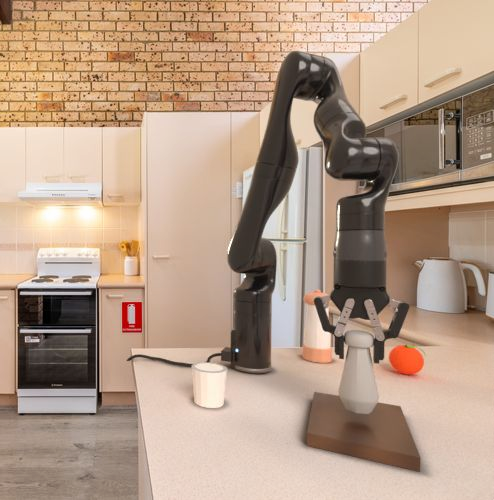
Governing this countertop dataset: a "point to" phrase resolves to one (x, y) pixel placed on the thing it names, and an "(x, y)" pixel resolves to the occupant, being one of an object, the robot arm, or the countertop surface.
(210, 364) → the white short cylinder
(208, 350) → the countertop surface
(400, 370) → the clementine
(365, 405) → the salt shaker
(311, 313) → the pepper shaker
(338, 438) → the cutting board
